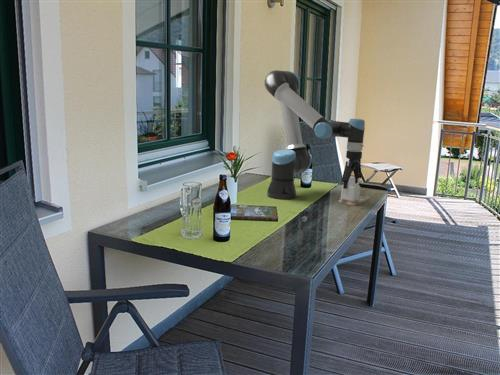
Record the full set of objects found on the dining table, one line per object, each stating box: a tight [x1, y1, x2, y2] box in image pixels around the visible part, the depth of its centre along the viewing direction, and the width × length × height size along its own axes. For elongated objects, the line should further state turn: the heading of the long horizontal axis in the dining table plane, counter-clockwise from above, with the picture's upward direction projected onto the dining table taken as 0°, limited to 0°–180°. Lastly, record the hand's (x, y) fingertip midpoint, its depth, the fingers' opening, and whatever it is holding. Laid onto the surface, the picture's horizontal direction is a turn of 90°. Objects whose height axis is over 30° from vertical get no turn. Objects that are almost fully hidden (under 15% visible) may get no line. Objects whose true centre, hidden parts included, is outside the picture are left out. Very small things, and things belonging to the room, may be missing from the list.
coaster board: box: [337, 193, 370, 207], centre depth 253 cm, size 9×20×2 cm, turn 147°
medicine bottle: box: [339, 174, 361, 201], centre depth 247 cm, size 7×7×12 cm
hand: (350, 192), depth 247 cm, fingers open, 13 cm apart
